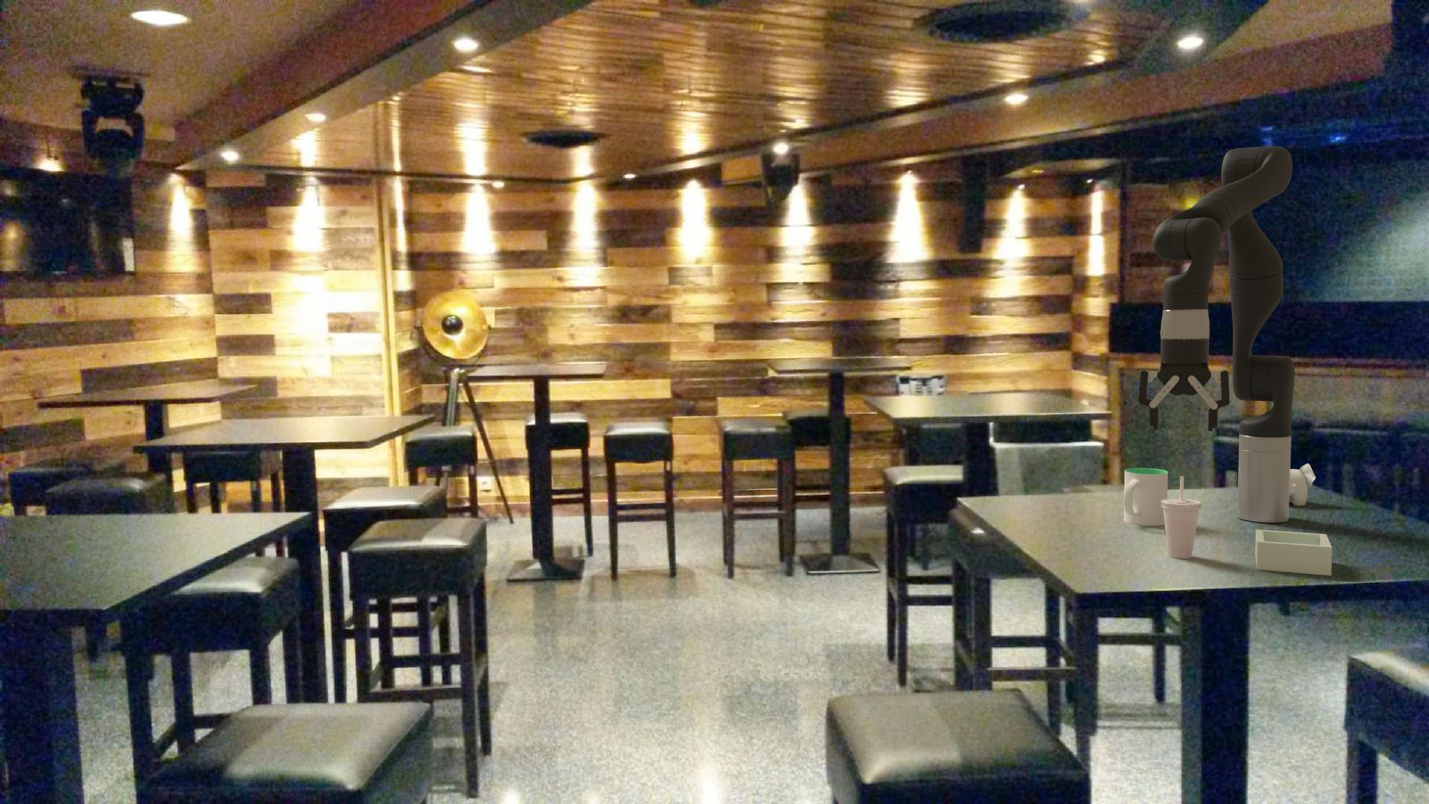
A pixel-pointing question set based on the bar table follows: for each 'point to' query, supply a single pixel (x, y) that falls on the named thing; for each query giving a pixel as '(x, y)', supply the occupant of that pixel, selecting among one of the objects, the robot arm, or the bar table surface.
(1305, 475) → the elephant figurine
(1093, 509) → the bar table surface
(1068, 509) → the bar table surface
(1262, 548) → the bin
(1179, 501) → the smoothie
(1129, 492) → the mug
